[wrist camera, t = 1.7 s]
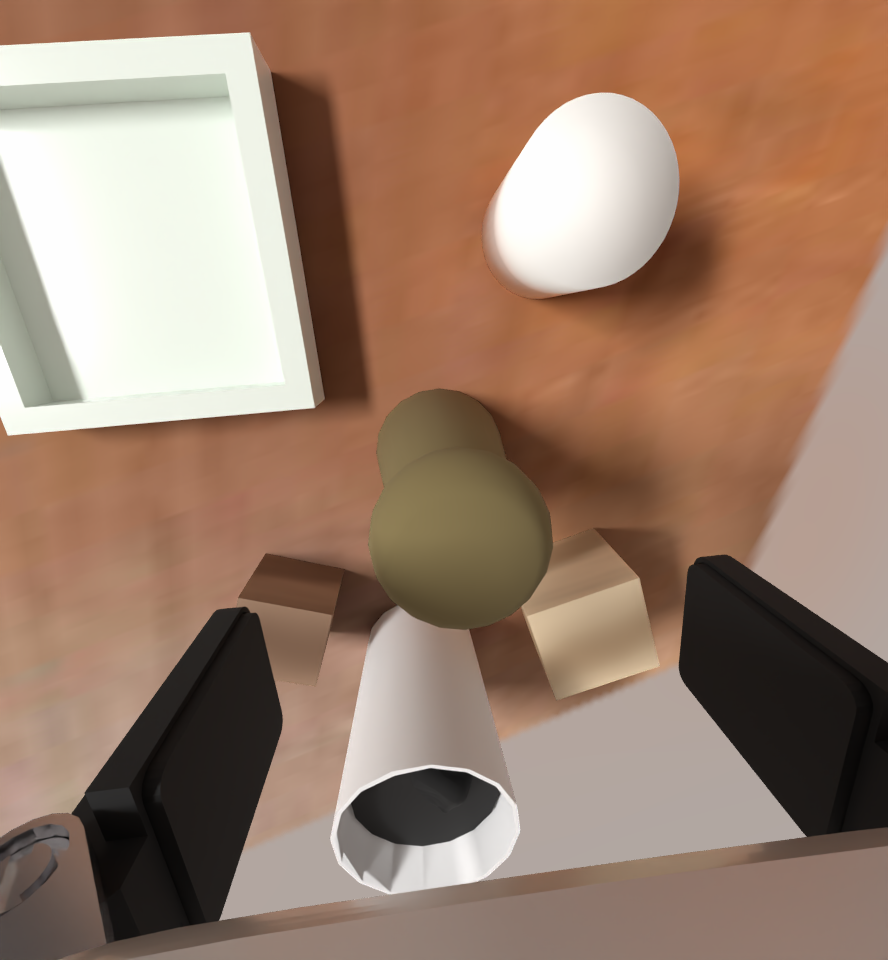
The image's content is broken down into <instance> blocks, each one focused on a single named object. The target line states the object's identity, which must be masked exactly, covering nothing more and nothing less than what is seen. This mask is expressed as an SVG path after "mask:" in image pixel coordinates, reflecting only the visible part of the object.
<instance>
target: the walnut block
mask: <svg viewBox="0 0 888 960" xmlns="http://www.w3.org/2000/svg"><path fill="white" fill-rule="evenodd" d="M343 573H344V569H341V568H336V567H331V566H326V565H321V564H316V563H311V562H306V561H301V560H296V559H291V558H286V557H281V556H276V555H271V554H265V556H264V557H263V559H262V560H261V562H260V564H259V565H258V567H257V568H256V570H255V571H254V573H253V575H252V576H251V578H250V579H249V581H248V583H247V584H246V586H245V587H244V589H243V591H242V592H241V594H240V595H239V597H238V601H237V607H247V608H248V609H249V610H250V613H257V614H258V616H259V619H260V622H261V627H262V631H263V635H264V639H265V643H266V648H267V652H268V656H269V660H270V664H271V669H272V673H273V677H274V680H276V681H283V682H289V683H295V684H302V685H308V686H314V687H316V684H317V680H318V676H319V672H320V668H321V664H322V660H323V656H324V652H325V649H326V645H327V641H328V637H329V633H330V629H331V625H332V620H333V616H334V612H335V608H336V603H337V599H338V595H339V591H340V586H341V582H342V578H343ZM237 607H236V608H237Z"/></svg>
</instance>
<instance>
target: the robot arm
mask: <svg viewBox="0 0 888 960" xmlns="http://www.w3.org/2000/svg"><path fill="white" fill-rule="evenodd" d="M679 671H680V675H681V678H682V680H683V682H684V683H685V685H686V686H687V687H688V689H689V690H690V691H691V692H692V694H693V695H694V696H695V698H697V700H698V701H699V703H700V704H701V705H702V706H703V708H704V709H705V710H706V711H707V713H708V714H709V715H710V716H711V718H712V719H713V720H714V721H715V722H716V724H717V725H718V726H719V728H720V729H721V730H722V731H723V733H724V734H725V735H726V736H727V738H728V739H729V740H730V741H731V743H732V744H733V745H734V746H735V748H736V749H737V750H738V751H739V753H740V754H741V755H742V757H743V758H744V759H745V760H746V761H747V763H748V764H749V765H750V767H751V768H752V769H753V770H754V772H755V773H756V774H757V775H758V776H759V778H760V779H761V780H762V782H763V783H764V784H765V785H766V787H767V788H768V789H769V790H770V792H771V793H772V794H773V795H774V797H775V798H776V799H777V800H778V802H779V803H780V804H781V805H782V807H783V808H784V809H785V810H786V812H787V813H788V814H789V815H790V817H791V818H792V819H793V820H794V822H795V823H796V824H797V825H798V827H799V828H800V829H801V831H802V832H803V833H804V834H805V835H806V836H807V837H804V838H796V839H789V840H781V841H774V842H766V843H758V844H751V845H743V846H736V847H728V848H721V849H713V850H706V851H697V852H690V853H683V854H675V855H668V856H661V857H653V858H647V859H639V860H631V861H624V862H617V863H609V864H602V865H595V866H588V867H581V868H574V869H567V870H559V871H552V872H545V873H537V874H531V875H523V876H516V877H509V878H501V879H494V880H488V881H480V882H473V883H466V884H459V885H452V886H445V887H438V888H431V889H424V890H418V891H411V892H404V893H397V894H390V895H383V896H376V897H370V898H363V899H356V900H349V901H342V902H335V903H328V904H321V905H315V906H308V907H300V908H294V909H288V910H282V911H276V912H270V913H264V914H258V915H252V916H246V917H239V918H234V919H227V920H222V921H219V919H220V916H221V914H222V911H223V908H224V904H225V902H226V899H227V896H228V893H229V889H230V886H231V883H232V880H233V877H234V874H235V871H236V868H237V865H238V862H239V859H240V856H241V853H242V850H243V847H244V844H245V841H246V838H247V835H248V832H249V829H250V826H251V823H252V820H253V817H254V813H255V810H256V807H257V804H258V801H259V798H260V795H261V792H262V789H263V786H264V783H265V780H266V777H267V774H268V771H269V768H270V765H271V762H272V759H273V756H274V753H275V750H276V747H277V743H278V740H279V737H280V734H281V730H282V722H283V718H282V711H281V706H280V702H279V698H278V694H277V690H276V685H275V681H274V677H273V673H272V669H271V664H270V660H269V656H268V652H267V648H266V643H265V639H264V635H263V631H262V627H261V622H260V619H259V616H258V614H257V613H250V610H249V609H248V608H247V607H237V608H227V609H219V610H216V611H215V612H214V613H213V615H212V616H211V617H210V619H209V620H208V622H207V623H206V624H205V626H204V627H203V629H202V630H201V631H200V633H199V634H198V636H197V637H196V638H195V640H194V641H193V643H192V644H191V645H190V647H189V648H188V650H187V651H186V652H185V654H184V655H183V656H182V658H181V659H180V661H179V662H178V663H177V665H176V666H175V668H174V669H173V670H172V672H171V673H170V675H169V676H168V677H167V679H166V680H165V682H164V683H163V684H162V686H161V687H160V688H159V690H158V691H157V693H156V694H155V695H154V697H153V698H152V700H151V701H150V702H149V704H148V705H147V707H146V708H145V709H144V711H143V712H142V714H141V715H140V716H139V718H138V719H137V720H136V722H135V723H134V725H133V726H132V727H131V729H130V730H129V732H128V733H127V734H126V736H125V737H124V739H123V740H122V741H121V743H120V744H119V746H118V747H117V748H116V750H115V751H114V753H113V754H112V755H111V757H110V758H109V759H108V761H107V762H106V764H105V765H104V766H103V768H102V769H101V771H100V772H99V773H98V775H97V776H96V778H95V779H94V780H93V782H92V783H91V785H90V786H89V787H88V789H87V790H86V791H85V796H84V797H83V798H82V800H81V801H80V803H79V804H78V805H77V807H76V808H75V810H74V811H73V812H72V814H69V813H56V814H49V815H46V816H43V817H40V818H36V819H33V820H31V821H29V822H27V823H25V824H23V825H21V826H19V827H17V828H15V829H13V830H11V831H9V832H8V833H6V834H5V835H3V836H2V837H0V960H888V663H887V662H886V661H884V660H883V659H881V658H880V657H878V656H877V655H875V654H874V653H872V652H871V651H870V650H868V649H867V648H865V647H864V646H862V645H861V644H859V643H858V642H856V641H855V640H853V639H852V638H850V637H849V636H847V635H846V634H844V633H843V632H841V631H840V630H839V629H837V628H836V627H834V626H833V625H831V624H830V623H828V622H826V621H825V620H824V619H822V618H821V617H819V616H818V615H816V614H815V613H813V612H811V611H810V610H809V609H808V608H806V607H804V606H803V605H802V604H800V603H799V602H797V601H796V600H794V599H793V598H791V597H790V596H788V595H787V594H785V593H784V592H782V591H781V590H779V589H778V588H776V587H775V586H773V585H772V584H771V583H769V582H768V581H766V580H765V579H763V578H762V577H760V576H759V575H757V574H756V573H754V572H753V571H751V570H750V569H748V568H747V567H745V566H744V565H743V564H741V563H740V562H738V561H737V560H735V559H734V558H732V557H731V556H728V555H716V556H707V557H699V558H698V559H696V561H695V563H694V565H691V566H690V567H689V569H688V574H687V584H686V595H685V605H684V616H683V626H682V636H681V647H680V657H679Z"/></svg>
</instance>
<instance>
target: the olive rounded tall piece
mask: <svg viewBox="0 0 888 960" xmlns="http://www.w3.org/2000/svg"><path fill="white" fill-rule="evenodd" d="M376 454H377V459H378V463H379V468H380V472H381V477H382V481H383V485H384V489H383V491H382V493H381V495H380V497H379V499H378V501H377V503H376V505H375V507H374V509H373V513H372V517H371V524H370V533H369V542H368V546H369V551H370V555H371V559H372V563H373V567H374V571H375V574H376V577H377V579H378V581H379V582H380V584H381V585H382V587H383V588H384V590H385V591H386V593H387V595H388V596H389V598H390V599H391V600H392V601H393V602H394V603H395V604H397V605H398V606H399V607H401V608H402V609H403V610H404V611H406V612H407V613H408V614H410V615H411V616H412V617H414V618H416V619H418V620H421V621H423V622H426V623H429V624H431V625H434V626H436V627H439V628H448V629H459V630H467V629H472V628H478V627H483V626H489V625H491V624H493V623H495V622H497V621H499V620H502V619H504V618H506V617H508V616H510V615H512V614H513V613H514V612H515V611H516V610H518V609H519V608H520V607H521V606H522V605H523V604H524V603H526V602H527V601H528V600H529V599H530V598H531V596H532V595H533V593H534V592H535V590H536V588H537V587H538V585H539V584H540V582H541V581H542V579H543V578H544V576H545V574H546V573H547V570H548V566H549V562H550V558H551V554H552V550H553V540H552V528H551V519H550V512H549V510H548V508H547V506H546V504H545V502H544V500H543V497H542V495H541V493H540V491H539V489H538V488H537V487H536V485H535V484H534V483H533V482H532V481H531V480H530V479H529V478H528V477H527V476H526V475H525V474H524V473H523V472H522V471H521V470H520V469H519V468H518V467H517V466H516V465H515V464H514V463H512V462H510V461H508V460H506V456H505V452H504V448H503V444H502V440H501V436H500V432H499V430H498V428H497V426H496V424H495V422H494V420H493V418H492V415H491V414H490V413H489V412H488V411H487V410H486V409H485V408H484V407H483V406H482V405H481V404H480V403H479V402H478V401H477V400H475V399H473V398H471V397H469V396H467V395H465V394H463V393H461V392H459V391H452V390H445V389H434V390H428V391H422V392H418V393H416V394H414V395H413V396H411V397H409V398H407V399H405V400H403V401H401V402H400V403H399V404H398V405H397V406H396V407H395V408H394V409H393V410H392V412H391V413H390V414H389V415H388V416H387V417H386V419H385V422H384V424H383V426H382V428H381V430H380V432H379V435H378V443H377V452H376Z"/></svg>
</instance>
